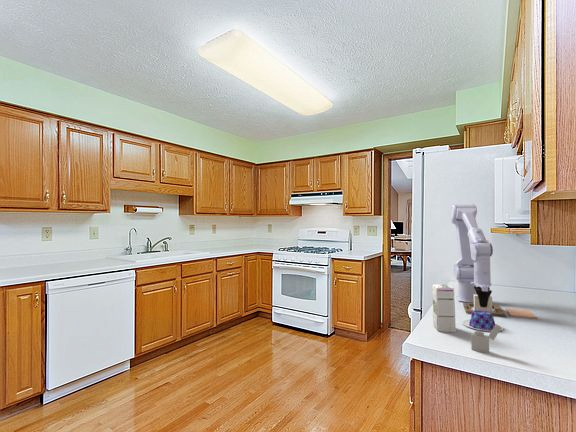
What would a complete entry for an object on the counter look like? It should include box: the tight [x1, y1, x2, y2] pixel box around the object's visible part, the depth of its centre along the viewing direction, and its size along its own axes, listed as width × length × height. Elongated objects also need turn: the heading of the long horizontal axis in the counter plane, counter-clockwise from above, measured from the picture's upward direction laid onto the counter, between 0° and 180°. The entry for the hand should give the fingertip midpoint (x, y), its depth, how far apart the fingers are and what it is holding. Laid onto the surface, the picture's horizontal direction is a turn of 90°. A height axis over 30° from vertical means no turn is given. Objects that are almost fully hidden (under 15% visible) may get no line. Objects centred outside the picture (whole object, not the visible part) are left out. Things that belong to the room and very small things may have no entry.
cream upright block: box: [473, 294, 493, 312], centre depth 127 cm, size 3×6×6 cm, turn 65°
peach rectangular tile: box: [504, 307, 538, 320], centre depth 122 cm, size 10×8×1 cm
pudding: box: [462, 309, 504, 332], centre depth 108 cm, size 12×12×5 cm
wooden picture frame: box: [462, 302, 507, 318], centre depth 127 cm, size 14×13×2 cm
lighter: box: [470, 323, 502, 354], centre depth 87 cm, size 7×2×8 cm, turn 55°
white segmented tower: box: [432, 283, 457, 333], centre depth 106 cm, size 6×6×14 cm
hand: (482, 305), depth 127 cm, fingers closed on cream upright block, 3 cm apart
